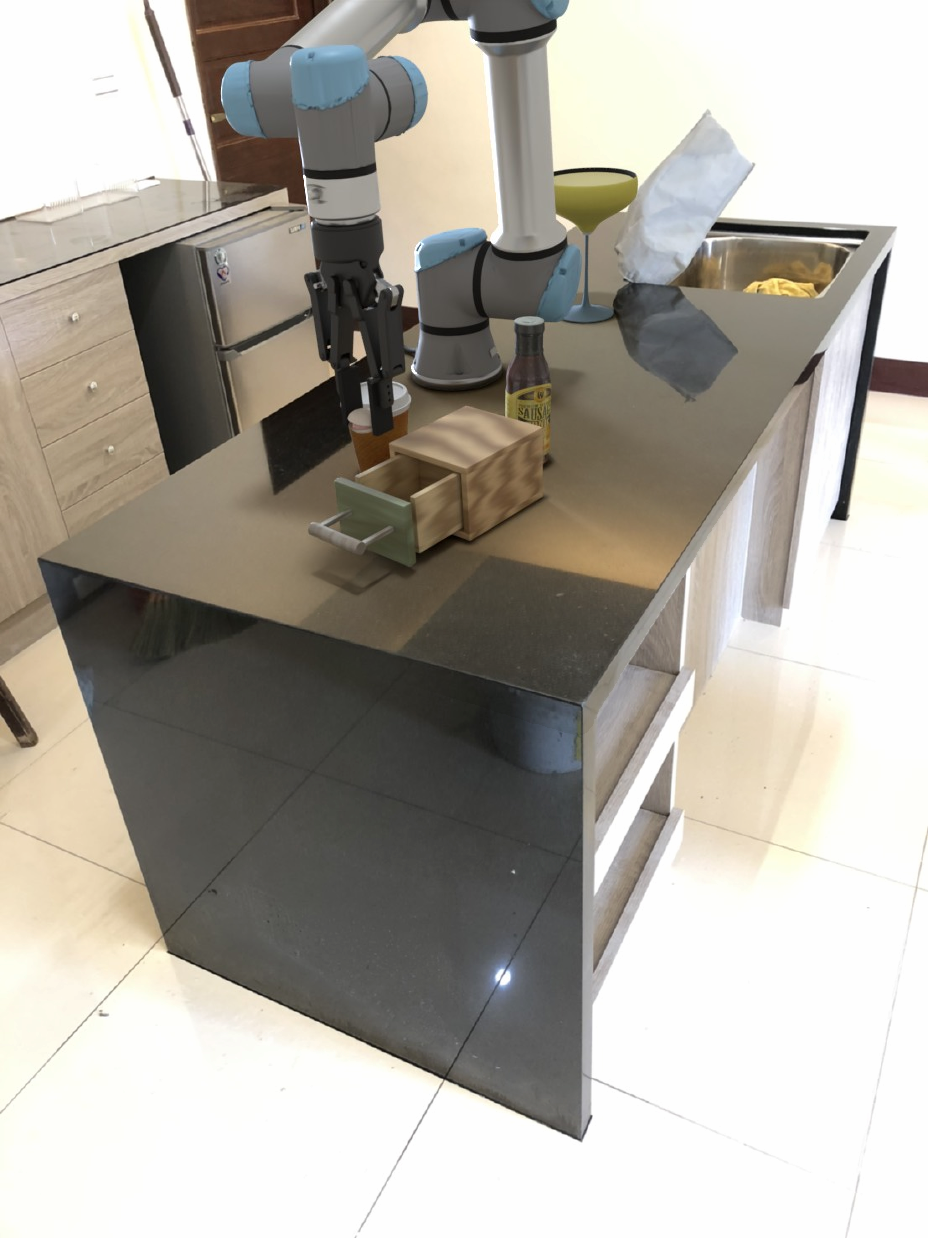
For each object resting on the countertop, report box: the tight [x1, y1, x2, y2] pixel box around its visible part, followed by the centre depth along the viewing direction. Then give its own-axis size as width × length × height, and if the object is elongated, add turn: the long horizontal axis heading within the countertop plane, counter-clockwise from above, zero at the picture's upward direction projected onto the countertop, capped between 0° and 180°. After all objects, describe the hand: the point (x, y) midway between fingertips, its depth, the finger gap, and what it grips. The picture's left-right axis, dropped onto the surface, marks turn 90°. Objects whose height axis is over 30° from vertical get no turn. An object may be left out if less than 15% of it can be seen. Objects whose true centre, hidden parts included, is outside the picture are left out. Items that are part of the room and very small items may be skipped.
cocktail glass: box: [553, 166, 639, 324], centre depth 189 cm, size 18×18×25 cm
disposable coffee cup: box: [339, 380, 412, 474], centre depth 137 cm, size 10×10×12 cm
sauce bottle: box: [504, 316, 552, 465], centre depth 136 cm, size 6×6×20 cm
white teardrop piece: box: [348, 408, 372, 434], centre depth 117 cm, size 4×5×2 cm
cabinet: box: [389, 405, 544, 542], centre depth 129 cm, size 15×13×10 cm
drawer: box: [307, 453, 464, 568], centre depth 121 cm, size 20×12×8 cm, turn 139°
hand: (368, 426), depth 118 cm, fingers closed on white teardrop piece, 4 cm apart
